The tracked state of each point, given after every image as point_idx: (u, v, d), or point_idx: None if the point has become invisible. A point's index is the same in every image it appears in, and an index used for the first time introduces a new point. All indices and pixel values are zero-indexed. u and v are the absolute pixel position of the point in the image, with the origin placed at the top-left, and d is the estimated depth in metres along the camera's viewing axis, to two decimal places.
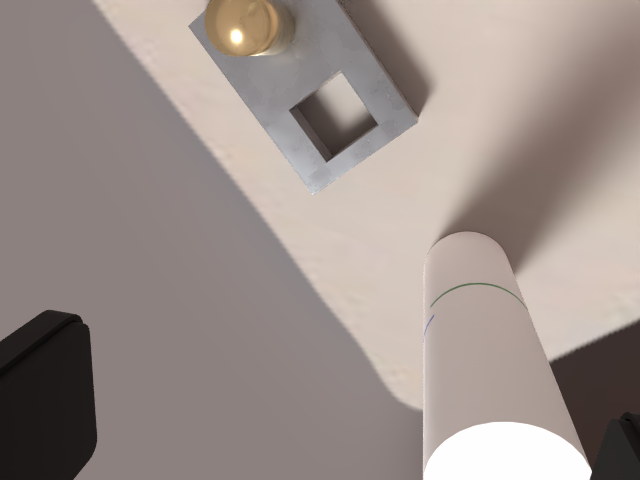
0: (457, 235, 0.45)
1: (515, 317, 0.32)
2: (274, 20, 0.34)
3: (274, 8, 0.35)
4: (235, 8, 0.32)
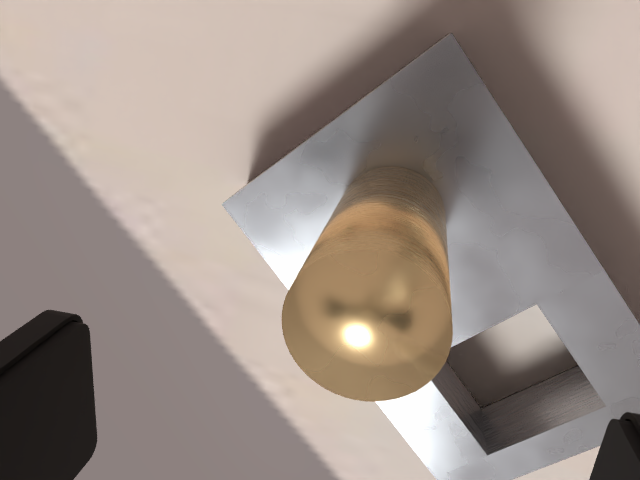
0: None
1: None
2: (449, 281, 0.14)
3: (439, 236, 0.15)
4: (370, 296, 0.12)
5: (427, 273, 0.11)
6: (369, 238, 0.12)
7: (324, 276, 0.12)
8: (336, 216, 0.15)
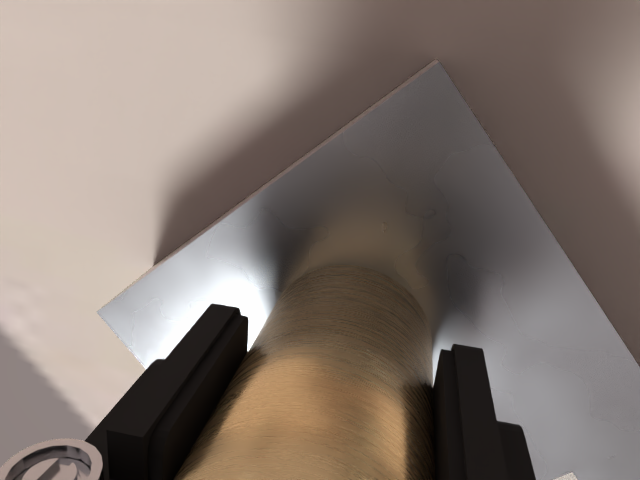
0: None
1: None
2: None
3: (419, 443, 0.08)
4: None
5: None
6: None
7: None
8: (229, 400, 0.08)
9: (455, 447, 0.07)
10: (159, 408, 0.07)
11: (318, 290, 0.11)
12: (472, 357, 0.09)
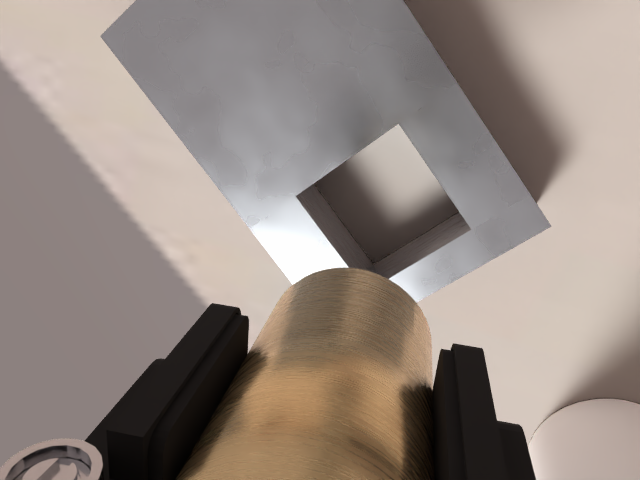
0: (597, 409, 0.25)
1: None
2: None
3: (418, 446, 0.08)
4: None
5: None
6: None
7: None
8: (229, 403, 0.08)
9: (455, 447, 0.07)
10: (159, 408, 0.07)
11: (318, 293, 0.11)
12: (472, 357, 0.09)
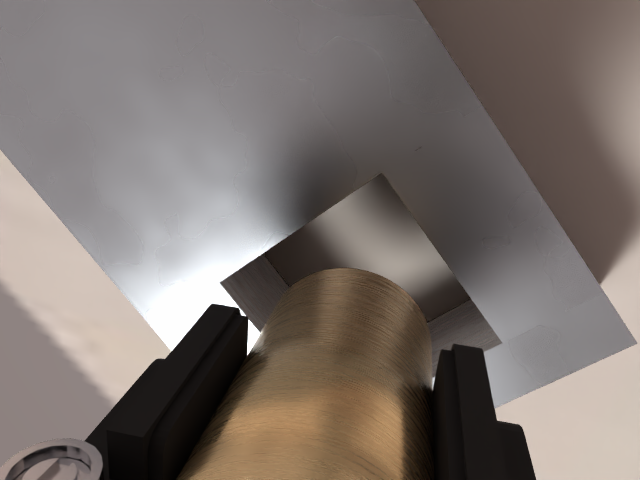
0: None
1: None
2: None
3: (418, 447, 0.08)
4: None
5: None
6: None
7: None
8: (229, 404, 0.08)
9: (455, 447, 0.07)
10: (159, 408, 0.07)
11: (318, 293, 0.11)
12: (472, 357, 0.09)
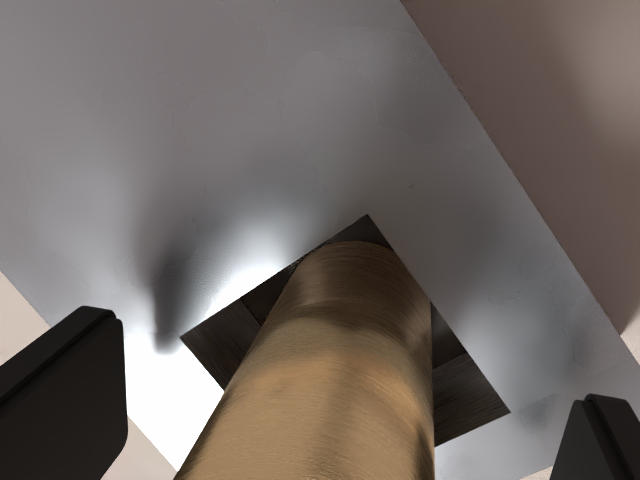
0: None
1: None
2: (434, 467, 0.08)
3: (419, 379, 0.09)
4: None
5: None
6: (288, 437, 0.07)
7: None
8: (259, 345, 0.10)
9: None
10: None
11: (330, 260, 0.12)
12: (620, 412, 0.08)
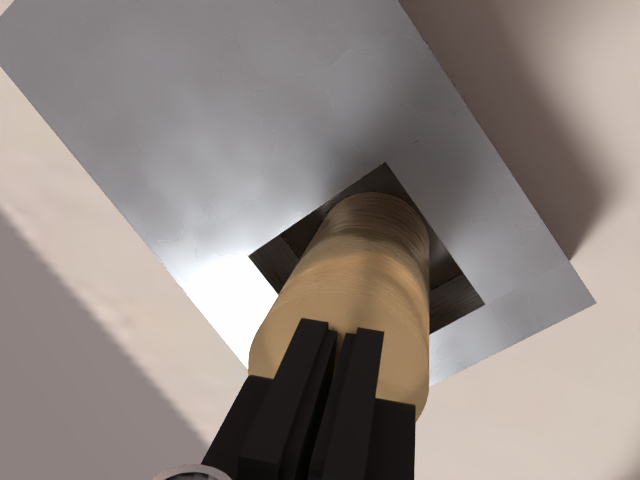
0: None
1: None
2: None
3: (419, 270, 0.14)
4: (341, 342, 0.11)
5: (401, 318, 0.11)
6: (340, 280, 0.11)
7: (291, 321, 0.11)
8: (310, 249, 0.14)
9: (328, 422, 0.08)
10: (283, 431, 0.07)
11: (355, 203, 0.17)
12: (371, 339, 0.10)
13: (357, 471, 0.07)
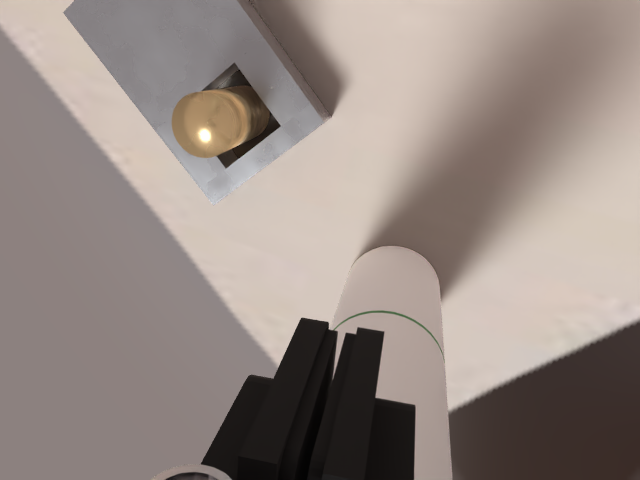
0: (379, 250, 0.40)
1: (409, 356, 0.27)
2: (245, 116, 0.33)
3: (245, 102, 0.34)
4: (202, 110, 0.31)
5: (222, 100, 0.31)
6: (203, 91, 0.32)
7: (185, 104, 0.31)
8: None
9: (328, 422, 0.08)
10: (283, 431, 0.07)
11: None
12: (371, 339, 0.10)
13: (357, 471, 0.07)
